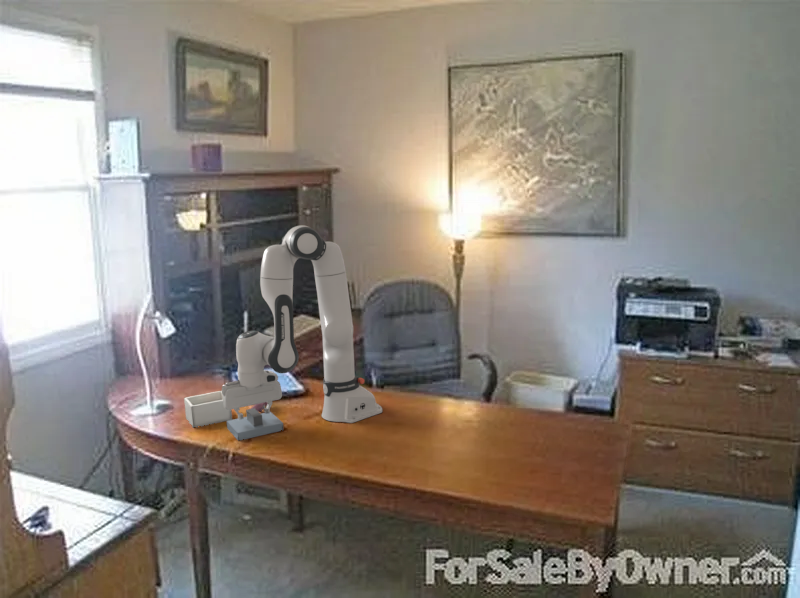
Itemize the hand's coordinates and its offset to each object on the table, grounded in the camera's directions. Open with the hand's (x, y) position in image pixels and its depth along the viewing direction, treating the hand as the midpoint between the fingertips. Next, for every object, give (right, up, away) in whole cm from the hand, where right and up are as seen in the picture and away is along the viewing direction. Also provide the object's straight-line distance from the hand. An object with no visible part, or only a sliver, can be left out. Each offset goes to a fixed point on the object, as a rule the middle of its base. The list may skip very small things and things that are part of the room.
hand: (254, 416), depth 223 cm
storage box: (-19, -3, +11) cm, 22 cm away
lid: (0, -5, +1) cm, 5 cm away
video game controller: (-2, -2, +19) cm, 19 cm away
